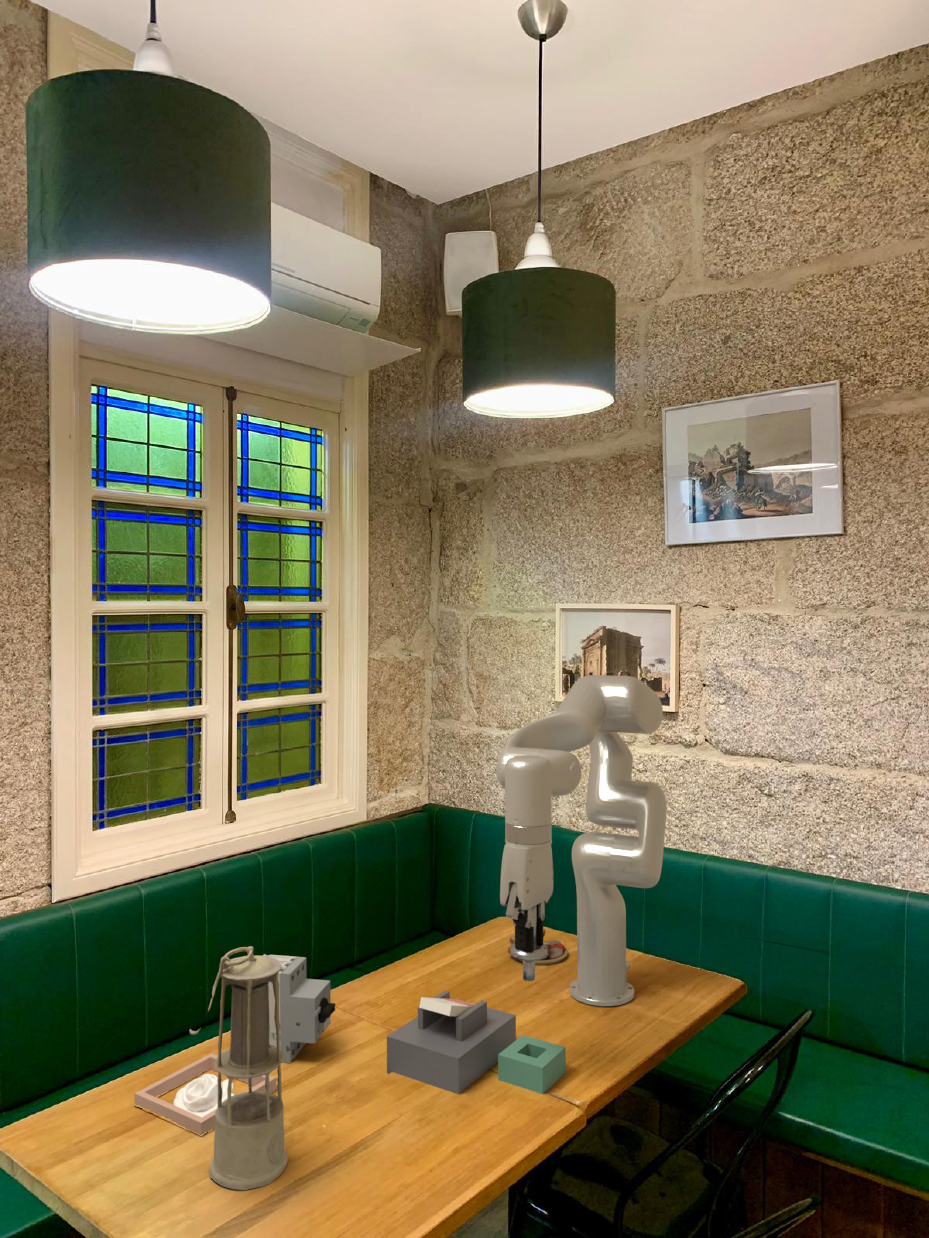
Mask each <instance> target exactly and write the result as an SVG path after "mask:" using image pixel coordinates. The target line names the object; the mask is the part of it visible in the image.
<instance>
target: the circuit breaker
mask: <svg viewBox="0 0 929 1238" xmlns="http://www.w3.org/2000/svg"><path fill="white" fill-rule="evenodd" d="M262 956H268V957H272V958H275V959H277V960H279V961H280V962H281V965H282V968H281V969H280V971H279V974H278V982H279V1022H280V1027H281V1028H280V1050H281V1051H282V1052H283V1054H284V1059H283V1062H282V1063H281V1064H289V1065H290V1064H291V1063H292V1062H293V1061H294V1059H295V1058H296V1057H297V1055H298V1053H300V1051H301V1050H302V1049H303V1048H304V1046H305V1045H306V1044H315V1043H316V1042H317V1041H318V1040H319V1039H320V1037H322V1035H323V1033H324V1032H325V1031H326V1029H327V1028H328V1027H329V1025H330V1024H331V1020H332V1019H331V1016H332V1014H333V1013H334V1012H336V1003H335V1002H334V1003H333V1002H331V1001H332V1000H331V980H328V979H326V980H325V979H316V978H315V979H313V978H307V957H304V956H294V955H293V956H292V955H291V956H290V955H281V954H280V955H279V954H278V955H277V954H269V955H267V954H266V953H264V954H263V955H262ZM268 986H269V1025H270V1031H269V1043H270V1045H272V1046H275V1047H277V1033H276V1026H275V1019H274V1015H275V997H274V991H273V983H272V982H270V981H269V984H268ZM272 1048H274V1047H272Z"/></svg>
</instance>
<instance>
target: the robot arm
mask: <svg viewBox="0 0 929 1238" xmlns="http://www.w3.org/2000/svg"><path fill="white" fill-rule="evenodd" d="M663 715H664V710H663V703H662V701H661V698H660V697H659V695H658V694H657V693H656V692H655V691H654V690H653V689H652V688H651V687H650V686H649V685H647V684H646V683H645V682H644V681H642V680H641V679H639V678H636V677H633V676H631V675H630V676H629V675H601V674H600V675H599V674H597V675H596V674H595V675H585V676H582V677H579V678H578V679H577V680H576V681H575V682H574V683H573V684H572V686H571V688H570V689H569V690H568V692H567V693H566V695H565V696H564V698H563V699H562V701H561V703H560V704H559V706H558V707H557V709H556V711H554V712H552V713H549V714H547V715H544V716H542V717H540V718H538V719H536V720H534V721H532V722H530V723H529V722H528V724H526V725H523V726H522V727H520V728H518V729H517V731H515V732H514V733H513V734H512V736H511V737H510V738H509V739H508V741H507V742H506V744H505V746H504V747H503V748H502V751H501V752H500V754H499V756H498V759H497V762H496V768H495V769H496V770H495V771H496V773H495V774H496V778H497V781H498V783H499V785H500V786H501V787H502V788H504V815H505V816H504V822H505V823H504V825H505V826H504V827H505V828H504V831H505V832H504V834H505V835H504V837H505V838H504V842H505V844H504V847H503V852H502V859H501V867H500V868H501V869H500V887H499V888H500V890H499V900H500V901H499V902H500V905H501V906H502V907H507V908H506V911H505V916H506V918H508V919H510V920H512V924H513V926H514V937H515V948H516V949H517V950H521V951H525V952H530V953H531V952H533V951H534V927H531V922H532V907H534V906H536V905H537V946H539V947H541V946H542V945H543V941H544V938H543V930H544V920H545V917H546V914H545V910H546V909H545V908H546V907H547V903H548V902H549V900H550V898H551V897H552V896H553V892H554V862H553V852H552V851H553V850H552V844H553V841H552V840H553V838H552V837H553V833H552V832H553V831H552V827H553V825H552V824H553V823H552V821H553V820H552V814H553V813H552V810H553V809H552V802H553V801H552V798H553V797H561V796H562V797H565V796H568V795H569V794H571V793H572V792H574V790H576V788H577V787H578V786H579V784H580V783H581V778H582V766H581V763H580V760H579V758H577V756H576V755H574V754H573V753H572V752H574V751H576V750H581V749H583V748H586V747H587V746H589V751H590V765H589V773H588V782H587V788H586V789H587V790H586V801H585V814H586V817H587V819H588V820H589V821H590V822H591V823H592V824H594V825H597V826H602V827H607V828H617V829H626V830H636V831H638V836H635V835H627V834H619V833H609V832H598V831H591V832H590V831H589V832H585V833H582V834H581V835H579V836H578V837H576V838H575V840H574V842H573V844H572V848H571V864H572V868H573V874H574V878H575V886H576V889H575V890H576V910H577V911H576V931H577V932H576V935H577V936H576V937H577V938H576V939H577V940H576V942H577V943H576V944H577V945H576V948H577V950H576V951H577V954H576V955H577V960H576V961H577V965H576V966H577V968H576V969H577V978H576V979H575V980H572V982H571V983H570V985H569V994H570V996H572V998H574V1000H577V1001H578V1002H581V1003H583V1004H586V1005H590V1006H595V1007H615V1006H616V1007H617V1006H621V1005H624V1004H627V1003H629V1002H630V1001H632V1000H633V999H634V998H635V987H634V986H633V985H632V984H631V983H630V982H628V981H627V971H628V970H630V968H631V963H630V961H628V960H627V921H626V919H627V916H626V915H627V912H626V911H627V910H626V903H625V899H624V898H623V895H622V893H621V892H620V890H619V888H618V886H624V887H631V888H640V889H651V888H653V887H655V886H656V885H657V884H658V882H659V881H660V878H661V873H662V869H663V868H662V867H663V860H664V859H663V857H664V848H665V847H664V846H665V837H666V836H665V834H666V825H667V824H666V823H667V800H666V794H665V792H664V790H663V788H662V786H660V785H659V784H657V783H654V782H651V781H643V780H633V779H632V773H633V763H634V758H633V756H634V755H633V754H632V751H631V750H630V748H629V746H628V745H627V743H626V742H625V741H624V739H623V737H621V736H620V734H621V733H624V734H625V733H626V734H642V735H643V734H644V735H648V734H649V735H650V734H653V733H655V732H656V731H658V729H659V728H660V726H661V725H662V721H663V717H664V716H663ZM619 733H620V734H619ZM522 911H523V912H525V916H524V914H523V913H522Z"/></svg>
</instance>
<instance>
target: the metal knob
mask: <svg viewBox="0 0 929 1238" xmlns="http://www.w3.org/2000/svg"><path fill="white" fill-rule="evenodd" d="M521 913H523V914H524V916H525V912H523V911H521ZM531 927H534V951H533V952H531V953H530V952H525V951H521V950H517V949H516V948H515V943H514V944H512V945H511V944H510V946H511V947H510V954H509V955H510V956H511V958H514V959H516V960H517V959H519V960H523V962H522V980H523V981H526V982H533V981H535V980H536V965H535V961H537V960H542V959H544V958H546V957H547V955H548V947H547V946H546V945H545V944H543V945H542V946H541V947H539V946H537V905H536V906H534V907H532V922H531ZM519 960H518V961H519Z"/></svg>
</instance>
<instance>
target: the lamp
mask: <svg viewBox="0 0 929 1238" xmlns="http://www.w3.org/2000/svg"><path fill="white" fill-rule="evenodd" d="M242 952H246V954H247V955H244V956H239V957H234V958H231V959H230V957H231V956H232V955H234V954H237V953H242ZM281 968H282V965H281V962H280V961H279V960H277V959H275V958H272V957H268V956H263V955H254V947H253V946H251V945H250V946H243V947H242V946H241V947H238V948H235V949H232V950H229V951H228V952H226V953H225V954H224V956H222V957H221V958H220V963H219V969H218V972H217V975H216V978H215V981H214V984H213V986H212V992H211V995H212V997H211V998H210V1003H209V1006H208V1008H207V1013H209V1012H210V1009H211V1008H212V1003H213V999H214V997H215V994H216V990H217V989H216V988H217V987H218V984H219V981H220V978H221V991H220V992H221V994H220V1003H219V1004H220V1005H219V1006H220V1010H219V1011H220V1014H219V1029H218V1040H217V1049H218V1050H217V1055H218V1056H217V1058H216V1060H215V1063H214V1065H215V1068H216V1070H217V1071H218V1072H217V1071H216V1072H217V1073H218V1075H217V1077H218V1079H217V1084H218V1107H217V1109H216V1112H215V1129H214V1135H213V1136H214V1138H213V1140H214V1141H213V1159H212V1161H211V1163H210V1166H209V1170H210V1177H212V1179H213V1180H215V1181H214V1183H216V1184H218V1185H219V1186H222V1187H224V1188H227V1189H231V1190H239V1191H247V1190H251V1189H256V1188H261V1187H264V1186H266V1185H269V1184H271V1183H273V1182H274V1181H275V1180H277V1178H279V1177H280V1176H281V1175H282V1174H283V1173H284V1171H285V1169H286V1168H287V1164H288V1154H287V1152H286V1150H285V1123H284V1122H285V1121H284V1117H285V1116H284V1113H285V1111H284V1110H285V1109H284V1103H283V1098H282V1096H283V1095H282V1089H283V1086H282V1069H281V1065H282V1064H283V1063H282V1062H283V1059H284V1054H283V1052H282V1051H281V1050H280V1028H281V1027H280V1022H279V982H278V974H279V971H280V969H281ZM269 981H270V982H272V983H273V991H274V997H275V1015H274V1019H275V1026H276V1033H277V1047H275V1046H272V1045H270V1043H269V1031H270V1025H269V986H268V984H269ZM229 985H231V990H232V991H231V1009H230V1011H231V1014H230V1047H229V1048H227V1049H225V1050H223V1051H222V1044H223V1031H224V1030H223V1029H224V1028H223V1027H224V1012H225V998H226V997H225V996H226V988H227V986H229ZM201 987H202V986H201ZM201 987H199V988H200V989H201ZM200 1031H201V1028H199V1029H197V1030H196V1031H195V1030H192V1029H191V1028H190V1029H189V1034H190V1035H194V1036H195V1035H197V1034H199V1032H200ZM272 1047H274V1048H272ZM274 1070H276V1071H277V1072H276V1073H277V1077H276V1082H277V1084H276V1089H277V1095H276V1094H273V1093H269V1075H271V1073H272V1072H273V1071H274ZM222 1075H223V1076H225V1077H227V1079H229V1080H228V1088H227V1094H228V1095H227V1099H226V1100H224V1101H223V1102H222V1088H221V1082H222ZM263 1075H265V1076H266V1077H265V1088H266V1092H261V1091H252V1087H253V1085H252V1078H255V1077H259V1076H263ZM237 1079H248V1084H247V1085H248V1090H249V1092H246V1091H244V1092H240V1093H238V1094H234V1096H231V1088H232V1082H233V1080H237ZM210 1177H209V1178H210ZM212 1179H211V1180H212ZM213 1180H212V1181H213Z"/></svg>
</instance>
